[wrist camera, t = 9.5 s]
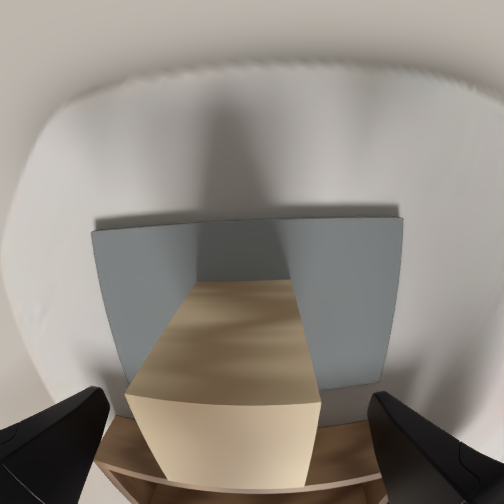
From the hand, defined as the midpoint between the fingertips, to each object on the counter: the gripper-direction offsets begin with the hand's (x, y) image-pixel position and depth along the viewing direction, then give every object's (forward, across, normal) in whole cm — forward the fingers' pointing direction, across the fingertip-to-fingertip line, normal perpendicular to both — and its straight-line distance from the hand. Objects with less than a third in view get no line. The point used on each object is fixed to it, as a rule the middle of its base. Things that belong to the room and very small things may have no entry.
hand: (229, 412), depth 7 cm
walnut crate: (+7, 0, +15) cm, 17 cm away
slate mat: (+7, 0, 0) cm, 7 cm away
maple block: (+6, 0, 0) cm, 6 cm away
